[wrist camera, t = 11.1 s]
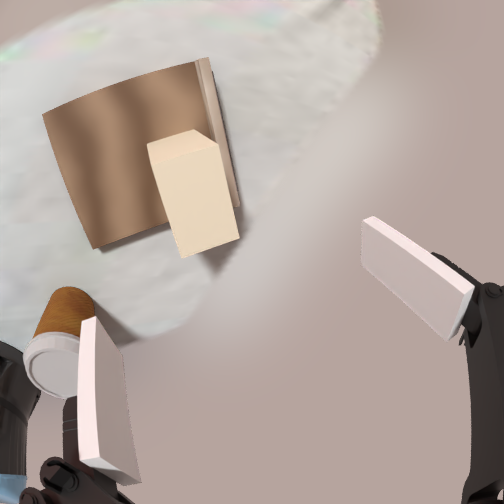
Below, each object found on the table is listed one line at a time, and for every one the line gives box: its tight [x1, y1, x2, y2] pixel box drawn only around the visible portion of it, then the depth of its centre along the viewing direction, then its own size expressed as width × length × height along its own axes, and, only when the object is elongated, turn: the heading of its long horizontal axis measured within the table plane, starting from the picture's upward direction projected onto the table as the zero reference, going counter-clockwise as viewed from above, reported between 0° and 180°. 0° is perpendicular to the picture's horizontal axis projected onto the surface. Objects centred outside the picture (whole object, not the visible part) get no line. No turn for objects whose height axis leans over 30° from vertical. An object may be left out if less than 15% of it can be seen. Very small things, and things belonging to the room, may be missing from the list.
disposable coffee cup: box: [23, 287, 95, 400], centre depth 30 cm, size 10×10×12 cm
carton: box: [147, 129, 239, 258], centre depth 27 cm, size 8×5×10 cm, turn 12°
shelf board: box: [42, 57, 240, 249], centre depth 29 cm, size 17×16×4 cm
